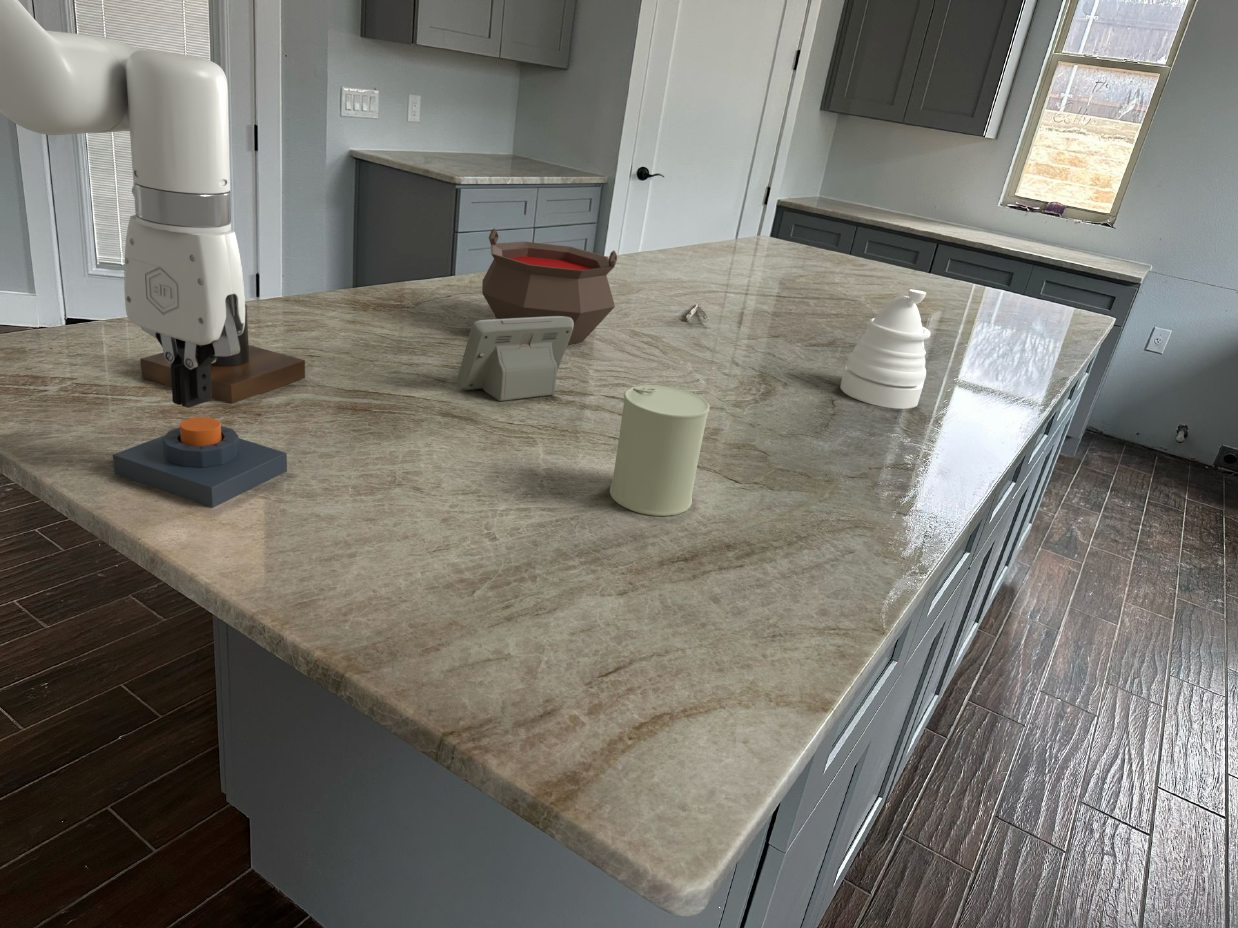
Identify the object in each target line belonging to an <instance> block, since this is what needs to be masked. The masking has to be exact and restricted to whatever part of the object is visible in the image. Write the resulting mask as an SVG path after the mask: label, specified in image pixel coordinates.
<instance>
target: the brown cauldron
mask: <svg viewBox="0 0 1238 928" xmlns="http://www.w3.org/2000/svg"><path fill="white" fill-rule="evenodd" d="M498 240H499V233H498V231H497V230H496V228H495V227H494V228H493V229H491V231H490V232H489V235H488V241H489V243H490V255H491V256H492V258H493V260H492V262H491V263H490V266H489V268H488V269H487V271H486V273H485V275H484V277H483V278H482V284H481V285H482V286H481V294H482V296H483V297H484V300H485V301H486V303H487V304H488V307H489V308H490V309H491V312H492V314H493V315H494V317H495V319H510V318H529V317H549V316H565V317H570V318H572V320H573V322H574V326H573V330H572V333H571V336H570V339H569V342H568V345H567V346H570V345H575V344H579V343H583V342H584V341H585V340H586V339H587V338H588V337H589V336H590V334H591V333H592V332H593V331H594V330H595V329H596V328H597V327H598V326H599V325H600V324H601V323H602V322H603V321H604V319H605V318H607V316H608V315H609V314H610V313H611V312H612V311H613V310H614V309H615V308H616V305H615V301H614V298H613V295H612V291H611V287H610V283H609V280H608V276H607V275H608V274H609V273H610V272H611V271H612V270H613V269H614V268H615V267H616V264H617V261H618V256H617V252H616V251H615V250H612V251H611V252H610V254H609V257H608V256H606V255H603V254H600V253H599V254H598V253H595V252H591V251H588V250H584V249H580V248H578V247H573V246H569V245H560V244H551V243H541V242H540V243H539V242H535V241H534V242H533V241H524V240H523V241H510V242H498ZM497 242H498V243H497Z"/></svg>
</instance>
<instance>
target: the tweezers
mask: <svg viewBox="0 0 1238 928" xmlns="http://www.w3.org/2000/svg"><path fill="white" fill-rule="evenodd" d="M696 312H698V313H699V314H700V315H701V316H702V326H706V325H707V324H708V323H709V322H710V317H709V316H708V314H707V312H706V311H705V310H704V309H703V308H702V307H701V306H700V305H699V303H698V302H697V303H696V305H695V306H694V307H693V308H692V309H691V310H690V311H689V313H687V314H686V316H685V318H686V320H687V322H688V324H691V323H692V321H693V320H694V317H693V316H694V314H696Z"/></svg>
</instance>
